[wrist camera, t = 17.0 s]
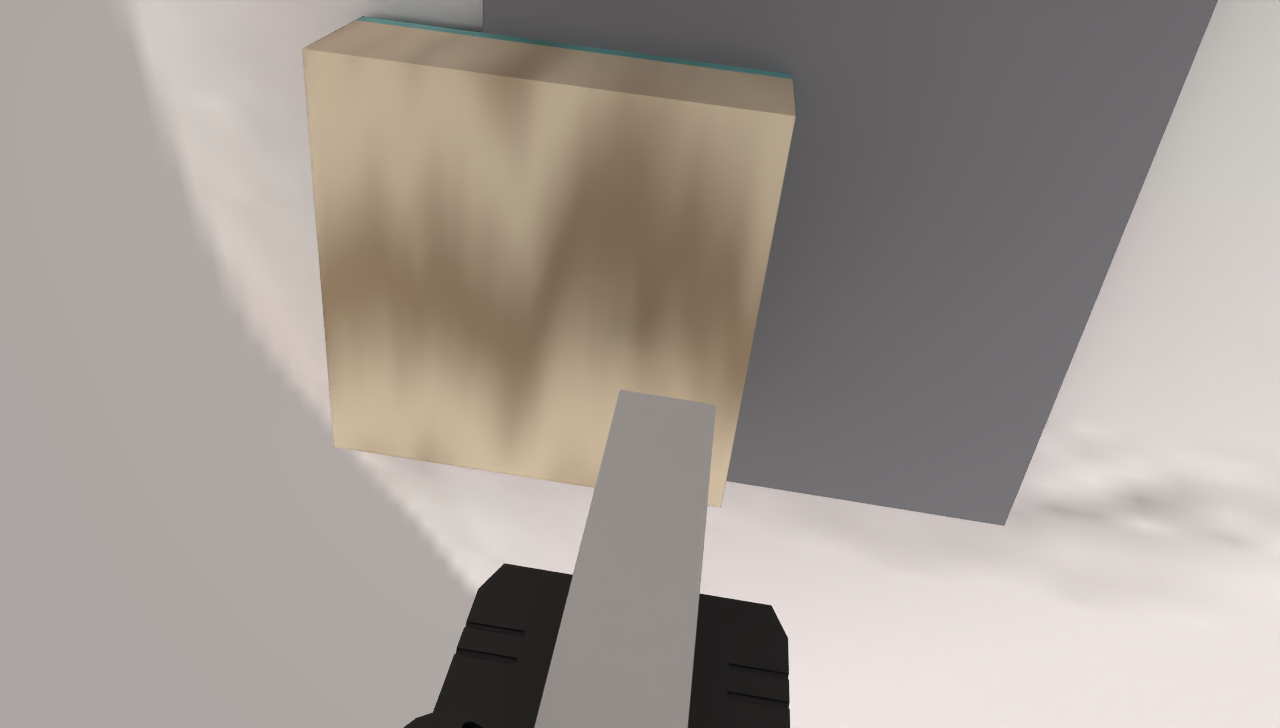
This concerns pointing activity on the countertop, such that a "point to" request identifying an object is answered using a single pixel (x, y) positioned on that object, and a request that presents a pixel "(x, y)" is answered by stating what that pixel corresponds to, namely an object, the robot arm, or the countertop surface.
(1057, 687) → the countertop surface
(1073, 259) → the mat
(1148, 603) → the countertop surface
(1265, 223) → the countertop surface
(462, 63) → the tile
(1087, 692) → the countertop surface
